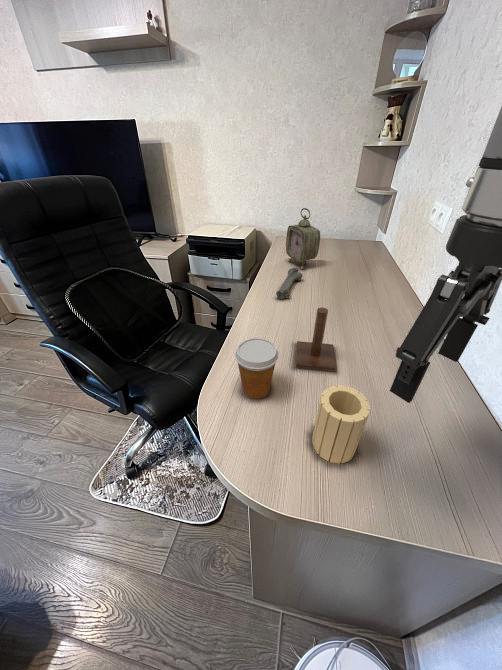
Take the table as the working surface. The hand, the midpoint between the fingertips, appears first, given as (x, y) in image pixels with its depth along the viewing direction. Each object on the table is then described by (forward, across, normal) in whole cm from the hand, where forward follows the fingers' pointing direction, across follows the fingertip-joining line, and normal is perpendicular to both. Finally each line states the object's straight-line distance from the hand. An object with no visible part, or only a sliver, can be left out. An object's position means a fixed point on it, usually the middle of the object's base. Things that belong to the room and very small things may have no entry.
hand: (426, 374), depth 40 cm
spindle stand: (+21, -11, -28) cm, 36 cm away
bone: (+21, -34, -64) cm, 75 cm away
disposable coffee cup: (+21, +9, -28) cm, 36 cm away
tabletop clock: (+21, -56, -80) cm, 100 cm away
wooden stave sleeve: (+21, +6, -8) cm, 23 cm away
